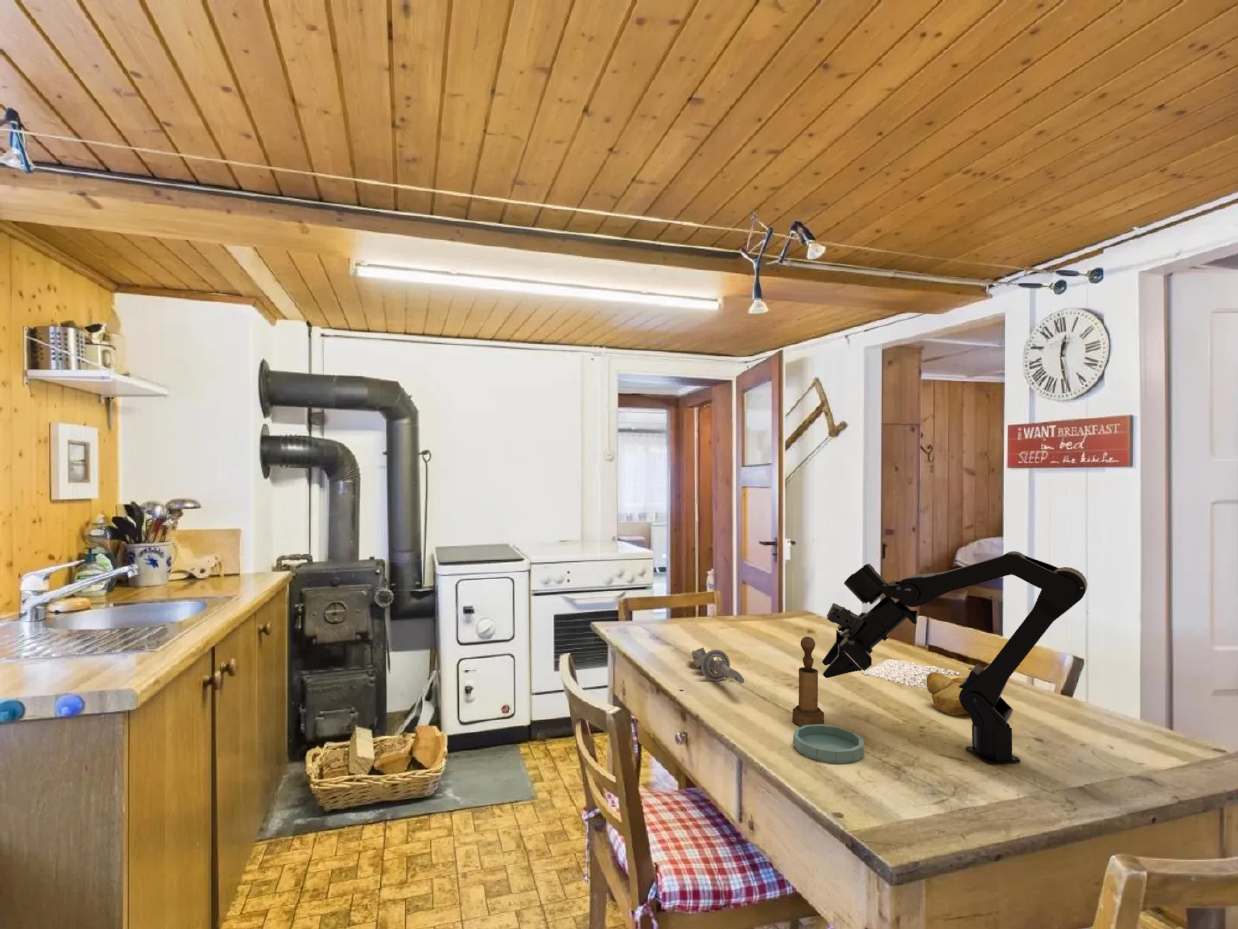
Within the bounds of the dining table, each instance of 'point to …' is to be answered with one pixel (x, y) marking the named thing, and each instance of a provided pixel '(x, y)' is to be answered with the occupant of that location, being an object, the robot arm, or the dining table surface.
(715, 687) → the dining table surface
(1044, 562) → the robot arm
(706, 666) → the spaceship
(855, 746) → the glazed dish
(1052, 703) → the dining table surface
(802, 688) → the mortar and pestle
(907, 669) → the salt crystals
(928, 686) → the bread roll
